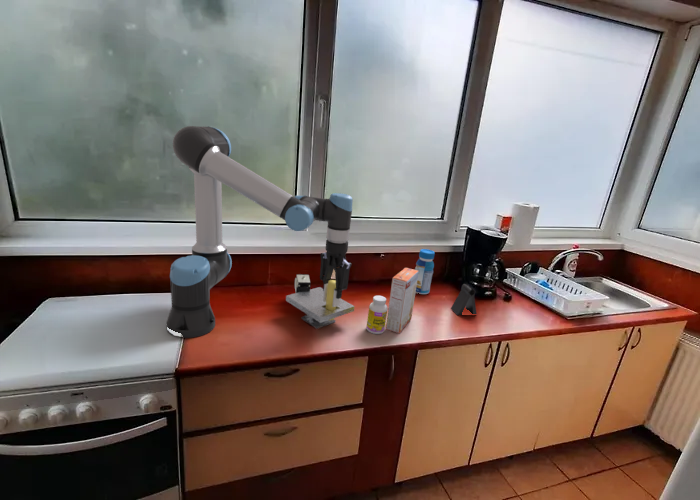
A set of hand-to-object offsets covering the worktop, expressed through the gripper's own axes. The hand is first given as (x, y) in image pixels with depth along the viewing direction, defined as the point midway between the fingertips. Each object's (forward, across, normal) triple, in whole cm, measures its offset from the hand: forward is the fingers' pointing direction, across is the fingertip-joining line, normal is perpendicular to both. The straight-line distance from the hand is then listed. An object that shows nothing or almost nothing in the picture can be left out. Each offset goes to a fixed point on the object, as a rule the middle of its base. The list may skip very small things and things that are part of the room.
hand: (331, 302), depth 134 cm
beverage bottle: (+10, +2, -59) cm, 60 cm away
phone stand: (+10, -22, -57) cm, 62 cm away
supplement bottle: (+10, -11, -13) cm, 20 cm away
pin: (+6, 0, 0) cm, 6 cm away
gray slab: (+10, +6, 0) cm, 11 cm away
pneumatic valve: (+10, +21, -3) cm, 23 cm away
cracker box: (+10, -13, -24) cm, 29 cm away
